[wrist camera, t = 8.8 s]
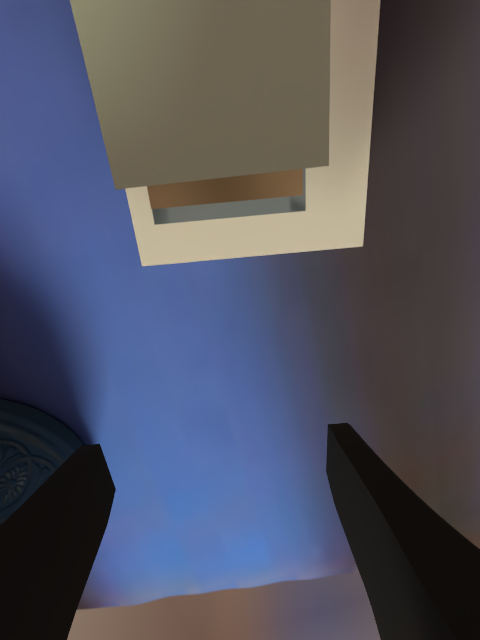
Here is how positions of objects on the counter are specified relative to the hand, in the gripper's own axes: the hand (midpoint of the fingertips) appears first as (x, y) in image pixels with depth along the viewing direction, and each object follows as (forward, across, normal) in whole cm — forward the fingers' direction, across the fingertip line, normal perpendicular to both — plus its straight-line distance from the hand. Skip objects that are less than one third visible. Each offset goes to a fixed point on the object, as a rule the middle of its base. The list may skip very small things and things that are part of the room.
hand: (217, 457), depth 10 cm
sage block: (+5, -1, -10) cm, 11 cm away
